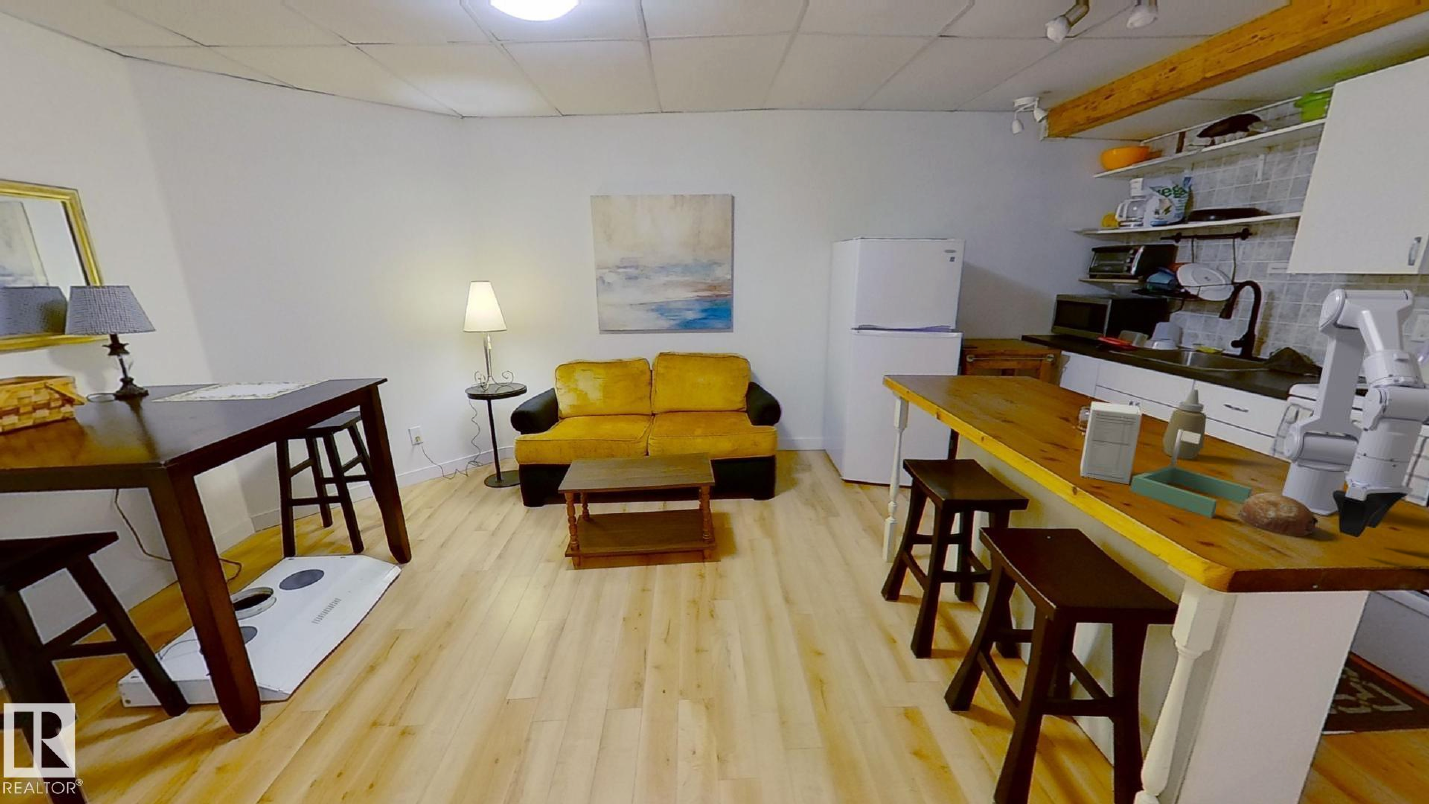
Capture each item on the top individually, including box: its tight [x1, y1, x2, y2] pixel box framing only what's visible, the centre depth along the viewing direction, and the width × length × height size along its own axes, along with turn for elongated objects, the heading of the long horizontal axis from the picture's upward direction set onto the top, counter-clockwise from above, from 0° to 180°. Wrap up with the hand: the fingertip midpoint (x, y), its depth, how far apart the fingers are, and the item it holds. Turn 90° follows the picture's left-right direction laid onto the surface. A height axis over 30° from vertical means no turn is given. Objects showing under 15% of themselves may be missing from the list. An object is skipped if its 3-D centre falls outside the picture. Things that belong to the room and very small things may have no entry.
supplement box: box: [1079, 401, 1143, 485], centre depth 122 cm, size 10×9×17 cm
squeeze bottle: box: [1162, 388, 1207, 460], centre depth 134 cm, size 8×8×18 cm
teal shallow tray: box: [1129, 429, 1253, 519], centre depth 110 cm, size 15×14×12 cm
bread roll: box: [1236, 492, 1319, 537], centre depth 100 cm, size 10×10×8 cm
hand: (1357, 529), depth 90 cm, fingers open, 7 cm apart
